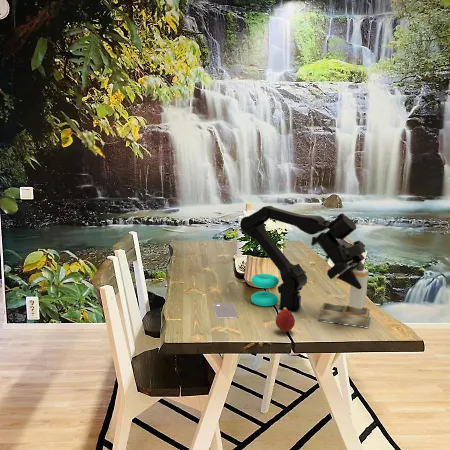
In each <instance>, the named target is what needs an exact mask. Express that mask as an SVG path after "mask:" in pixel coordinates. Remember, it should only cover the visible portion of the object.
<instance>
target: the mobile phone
mask: <svg viewBox="0 0 450 450" xmlns="http://www.w3.org/2000/svg"><path fill="white" fill-rule="evenodd" d="M212 308H213V311H215V312H214V315H215V314H216V315H215V318H216V317H217V318H223V317H224V318H226V317H229V318H233V317H239V315H237V314H238V311H237V309H236V307H235V305H234V303H233V302H213V303H212ZM235 309H236V310H235ZM217 318H216V319H217Z"/></svg>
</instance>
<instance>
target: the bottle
mask: <svg viewBox="0 0 450 450" xmlns="http://www.w3.org/2000/svg"><path fill="white" fill-rule="evenodd" d="M364 266H365V264H364V263H363V262H362V263H357V268H355V269H353V273H354V275H355V277H356V278H357V280H358V281H359V283H360V285H361V287H362V288H361V289H357V288H355V287H354V286H352V285H349V286H350V288H349V299H348V300H349V301H348V305H349V306H350V307H355V308H359V309H362V308H363V307H365V306H366V304H367V293H368V291H367V290H368V289H367V288H368V281H369V280H368V279H369V269H366V268H365V267H364Z"/></svg>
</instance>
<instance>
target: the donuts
mask: <svg viewBox="0 0 450 450" xmlns="http://www.w3.org/2000/svg"><path fill="white" fill-rule="evenodd" d="M251 283H252V285H253V286H255V287H257V288H261V289H272V288H275V287H278V285H279V283H280V280H279V278H278V276H276V275H273V274H272V273H271V274H270V273H258V274H254V275H253V276H252V277H251ZM250 301H251V302H252V304H253V305H256V306H259V307H260V306H261V307H272V306H275V305H276V304H277V303H278V302H279V297H278V296H277V294H275V293H274V292H271V291H266V290H261V291H256V292H254V293H252V295H251V296H250Z"/></svg>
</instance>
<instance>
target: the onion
mask: <svg viewBox="0 0 450 450" xmlns="http://www.w3.org/2000/svg"><path fill="white" fill-rule="evenodd" d="M295 321H296V320H295V317H294V315H293V314H292V311H288V310H287V309H286V308H283V310H280V312H279V313H277V315H276V317H275V325H276V326H277V328H278V329H279V330H280V331H281V332H282V333H284V334H285V333H287V332H290V331H291V330H292V329H293V328H294V327H295V323H296V322H295Z"/></svg>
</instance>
